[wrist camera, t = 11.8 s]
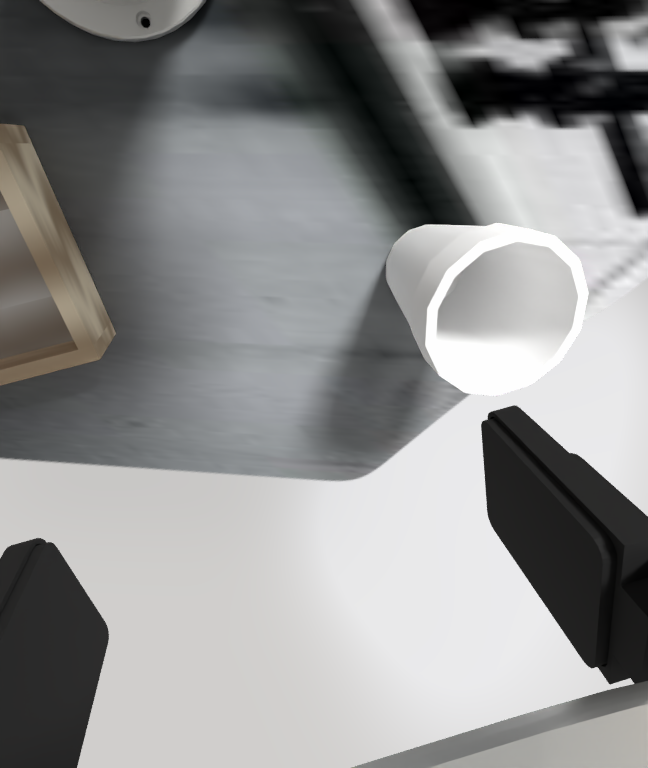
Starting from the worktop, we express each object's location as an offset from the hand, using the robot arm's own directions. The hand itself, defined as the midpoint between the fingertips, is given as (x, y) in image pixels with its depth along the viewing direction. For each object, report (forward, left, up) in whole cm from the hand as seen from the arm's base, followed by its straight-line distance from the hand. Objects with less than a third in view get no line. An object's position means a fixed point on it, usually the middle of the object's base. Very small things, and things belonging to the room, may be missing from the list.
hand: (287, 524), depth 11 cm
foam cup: (+4, +13, -28) cm, 32 cm away
